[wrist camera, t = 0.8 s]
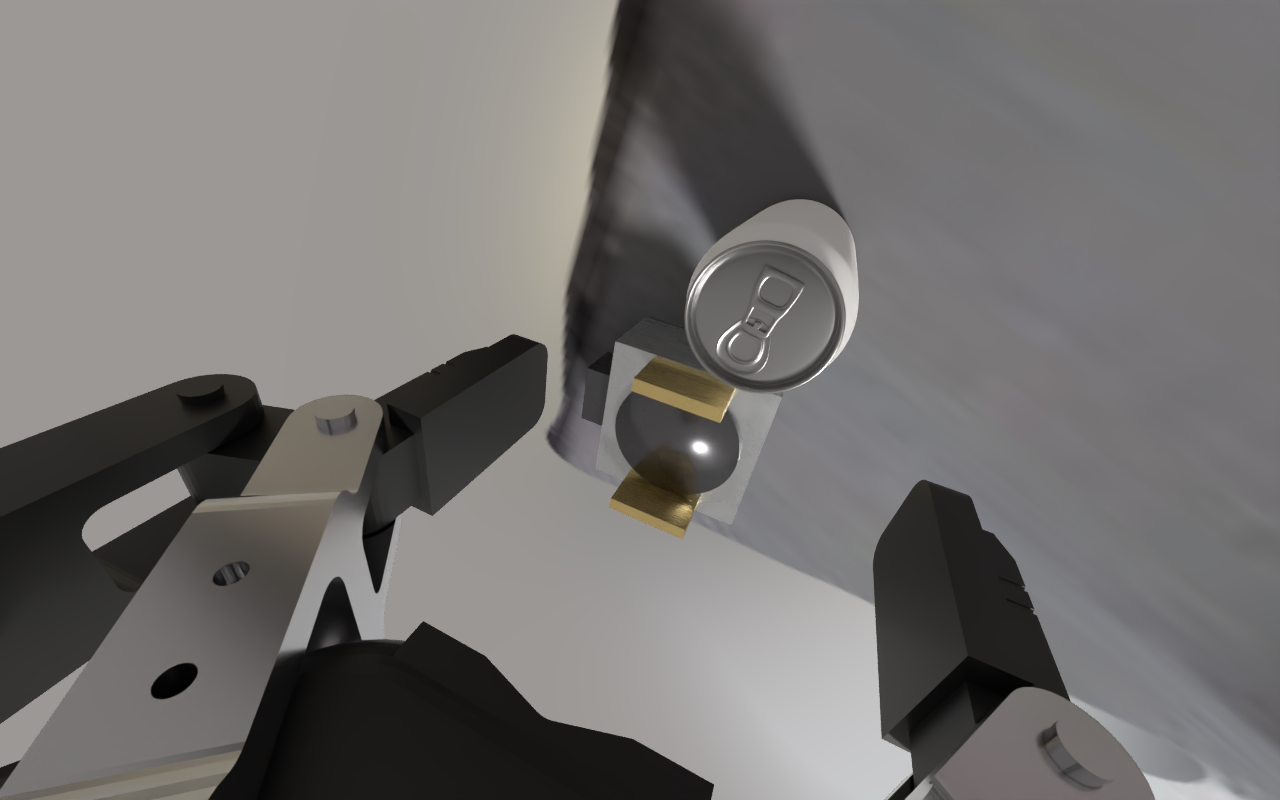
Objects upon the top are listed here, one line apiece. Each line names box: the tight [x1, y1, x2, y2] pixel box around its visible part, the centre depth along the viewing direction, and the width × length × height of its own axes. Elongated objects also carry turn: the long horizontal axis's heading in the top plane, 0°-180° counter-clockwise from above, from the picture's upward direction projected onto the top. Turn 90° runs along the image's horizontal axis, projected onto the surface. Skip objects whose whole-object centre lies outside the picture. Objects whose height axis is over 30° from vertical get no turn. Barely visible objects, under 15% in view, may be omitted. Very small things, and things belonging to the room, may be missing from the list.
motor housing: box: [582, 317, 783, 539], centre depth 29 cm, size 10×12×8 cm
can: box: [684, 199, 859, 394], centre depth 21 cm, size 6×6×12 cm
